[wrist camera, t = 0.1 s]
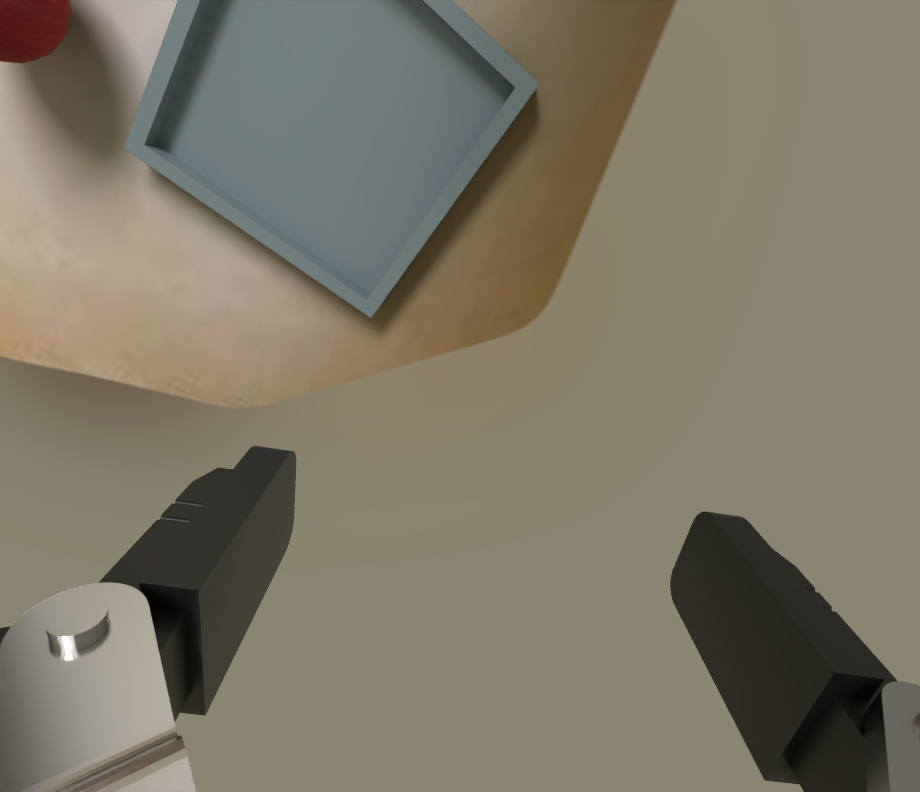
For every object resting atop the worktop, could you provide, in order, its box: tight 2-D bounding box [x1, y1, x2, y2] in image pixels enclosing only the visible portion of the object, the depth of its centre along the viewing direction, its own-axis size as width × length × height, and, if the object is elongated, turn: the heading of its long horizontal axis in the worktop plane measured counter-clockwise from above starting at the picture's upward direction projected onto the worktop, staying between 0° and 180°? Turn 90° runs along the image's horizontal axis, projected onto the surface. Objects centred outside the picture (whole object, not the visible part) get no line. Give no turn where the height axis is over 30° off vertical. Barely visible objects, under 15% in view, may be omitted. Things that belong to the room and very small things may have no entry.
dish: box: [124, 0, 539, 318], centre depth 25 cm, size 15×15×2 cm
